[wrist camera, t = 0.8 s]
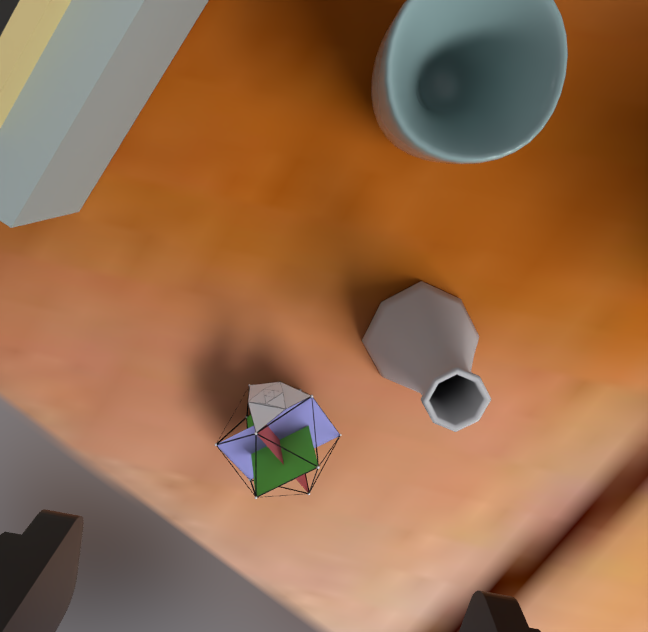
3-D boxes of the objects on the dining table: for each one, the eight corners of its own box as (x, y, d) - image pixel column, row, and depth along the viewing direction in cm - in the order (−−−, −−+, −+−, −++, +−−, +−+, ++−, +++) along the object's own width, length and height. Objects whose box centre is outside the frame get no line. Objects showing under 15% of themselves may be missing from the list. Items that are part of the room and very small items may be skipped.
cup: (369, 14, 32) (393, -48, 22) (505, 25, 32) (587, -31, 22) (357, 157, 34) (374, 157, 24) (485, 166, 34) (552, 170, 24)
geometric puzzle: (364, 473, 37) (334, 467, 30) (274, 516, 38) (223, 521, 31) (322, 377, 40) (285, 350, 33) (239, 419, 41) (184, 403, 33)
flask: (342, 340, 37) (351, 405, 27) (420, 260, 36) (460, 299, 26) (418, 408, 38) (453, 492, 29) (497, 334, 37) (561, 396, 27)
